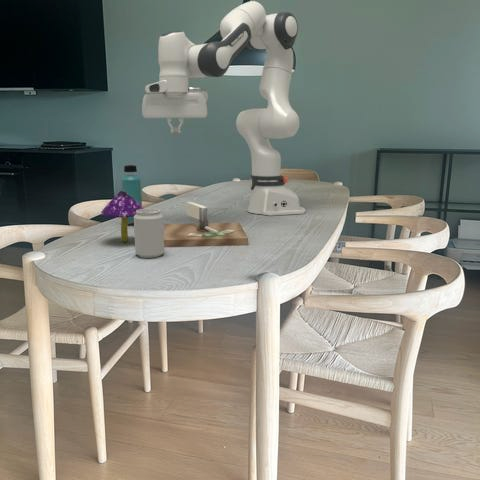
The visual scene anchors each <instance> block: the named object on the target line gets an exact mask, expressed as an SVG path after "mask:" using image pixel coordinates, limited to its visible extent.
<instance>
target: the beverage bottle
mask: <svg viewBox="0 0 480 480" xmlns="http://www.w3.org/2000/svg"><path fill="white" fill-rule="evenodd" d="M123 172H124V173H137V172H138V169H137V165H132V164H128V165H127V164H126V165H124V166H123ZM121 187H122V188H121V191H125V192H126V193H127V194H128V195H129V196H131V197H132V198H134V199H135V200H136V201H137V202H138V203H139V204H140V205H141V206H142V207H143V203H142V201H143V200H142V199H143V198H142V186H141V178H140V177H139V176H138V175H135V174H131V175H130V174H127V175H123V176H122V178H121ZM128 223H134V217H128Z"/></svg>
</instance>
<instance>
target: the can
mask: <svg viewBox="0 0 480 480" xmlns="http://www.w3.org/2000/svg"><path fill="white" fill-rule="evenodd" d="M133 227H134V228H133V229H134V249H135V254H136V255H137V256H138V257H139V258H142V259H155V258H159V257H161V256H162V255H163V254H164V253H165V247H164V227H165V224H164V215H163V214H162V213H161V209H158V208H144V209H140V210H137V211H136V215H135V216H134V222H133Z"/></svg>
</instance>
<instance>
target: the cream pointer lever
mask: <svg viewBox="0 0 480 480" xmlns="http://www.w3.org/2000/svg"><path fill="white" fill-rule="evenodd" d="M185 204H186V208H185V209H186V216H189V217H190V218H191V217H192V218H194V219H196V220H199V222H198V223H199V229H200V230H209V231H211V232H213V233H216V234H217V233H218V231H216V230H214V229H211V228H209V227H208V223H209V207H208V206H204V205H201V204H199V203H197V202H193V201H188V202H187V201H186V203H185Z"/></svg>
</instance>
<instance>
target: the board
mask: <svg viewBox="0 0 480 480" xmlns="http://www.w3.org/2000/svg"><path fill="white" fill-rule="evenodd" d="M208 227H209V228H211V229H214V230H216V231H218V233H217V234H216V233H213V232H211V231H209V230H200V229H199V222H197V223H194V222H193V223H191V222H190V223H165V224H164V248H176V247H177V248H182V247H214V246H215V247H219V246H249V236H248V235H247V233H246V232H245V230H244V229H243V227H242V225H241V224H240V222H208Z"/></svg>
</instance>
